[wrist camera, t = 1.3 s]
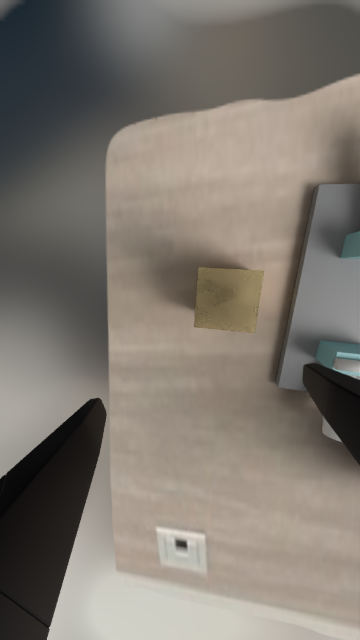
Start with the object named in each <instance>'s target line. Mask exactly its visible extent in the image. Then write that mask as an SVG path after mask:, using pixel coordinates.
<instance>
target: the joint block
mask: <svg viewBox="0 0 360 640" xmlns="http://www.w3.org/2000/svg"><path fill="white" fill-rule="evenodd" d="M263 275H264V271H261V270H242V269H223V268H204V267H198V281H197V294H196V308H195V321H194V327H199V328H208V329H218V330H228V331H238V332H248V333H255V326H256V320H257V314H258V307H259V301H260V294H261V288H262V282H263Z"/></svg>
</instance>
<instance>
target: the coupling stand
mask: <svg viewBox="0 0 360 640" xmlns="http://www.w3.org/2000/svg"><path fill="white" fill-rule="evenodd" d="M308 363H317V364H320V365H322V366H325V367H328V368H330V369H333V370H335V371H338V372H341V373H343V374H346V375H349V376H351V377H354V378H356V379H359V380H360V184H319V185H318V186H317V187H316V188H315V189H314V193H313V198H312V203H311V208H310V213H309V218H308V223H307V228H306V233H305V238H304V243H303V248H302V253H301V258H300V263H299V268H298V273H297V278H296V283H295V288H294V293H293V298H292V303H291V308H290V313H289V318H288V323H287V328H286V333H285V338H284V343H283V348H282V354H281V359H280V364H279V369H278V374H277V379H276V384H277V386H278V388H284V389H291V390H298V391H305V392H308V391H307V389H306V388H305V386H304V384H303V381H302V375H303V366H304V364H308ZM322 433H323V434H324V435H326V436H328V437H330V438H332V439H334V440H337V441H340V442H342V441H341V440H340V438H339V437H338V436H337V434H336V433H335V432H334V430H333V429H332V428H331V426H330V425H329V424H328V422H327V421H326V420H325V418H324V417H323V428H322Z"/></svg>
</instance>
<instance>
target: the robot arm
mask: <svg viewBox="0 0 360 640" xmlns="http://www.w3.org/2000/svg"><path fill="white" fill-rule="evenodd" d="M302 381H303V384H304V386H305V388H306V389H307V391H308V393H309V394H310V396H311V397H312V399H313V401H314V402H315V404H316V406H317V407H318V409H319V411H320V412H321V414H322V415H323V417H324V418H325V420H326V421H327V422H328V424H329V425H330V426H331V428H332V429H333V430H334V432H335V433H336V434H337V436H338V437H339V438H340V440H341V441H342V442H343V444H344V445H345V446H346V448H347V449H348V450H349V452H350V453H351V454H352V456H353V457H354V458H355V460H356V461H357V462H358V464H359V465H360V380H359V379H356V378H354V377H351V376H349V375H346V374H343V373H341V372H338V371H335V370H333V369H330V368H328V367H325V366H322V365H320V364H317V363H308V364H304V366H303V375H302ZM105 422H106V410H105V407H104V405H103V403H102V400H101V399H100V398H95V399H90V400H89V401H88V402H86V403H85V404H84V405H83V406H82V407H81V408H80V409H79V410H77V411H76V412H75V413H74V414H73V415H72V416H71V417H69V418H68V419H67V420H66V421H65V422H64V423H63V424H62V425H60V426H59V427H58V428H57V429H56V430H55V431H54V432H53V433H51V434H50V435H49V436H48V437H47V438H46V439H45V440H44V441H42V442H41V443H40V444H39V445H38V446H37V447H36V448H34V449H33V450H32V451H31V452H30V453H29V454H28V455H27V456H25V457H24V458H23V459H22V460H21V461H20V462H19V463H18V464H16V465H15V466H14V467H13V468H12V469H11V470H10V471H8V472H7V474H6V475H4V476H3V477H2V478H1V479H0V640H47V637H48V633H49V627H50V625H51V622H52V618H53V615H54V611H55V608H56V604H57V601H58V597H59V594H60V590H61V587H62V583H63V580H64V576H65V573H66V569H67V566H68V562H69V559H70V555H71V552H72V548H73V545H74V541H75V537H76V534H77V531H78V527H79V524H80V520H81V516H82V513H83V510H84V506H85V503H86V499H87V496H88V492H89V489H90V485H91V482H92V478H93V475H94V471H95V468H96V464H97V461H98V457H99V453H100V448H101V443H102V438H103V432H104V426H105Z"/></svg>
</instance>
